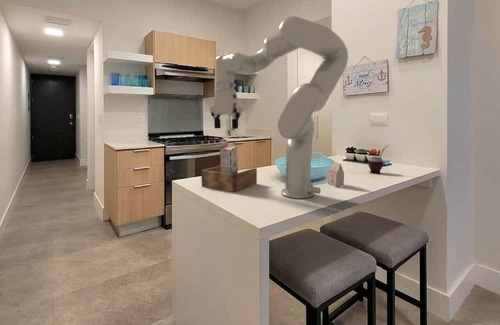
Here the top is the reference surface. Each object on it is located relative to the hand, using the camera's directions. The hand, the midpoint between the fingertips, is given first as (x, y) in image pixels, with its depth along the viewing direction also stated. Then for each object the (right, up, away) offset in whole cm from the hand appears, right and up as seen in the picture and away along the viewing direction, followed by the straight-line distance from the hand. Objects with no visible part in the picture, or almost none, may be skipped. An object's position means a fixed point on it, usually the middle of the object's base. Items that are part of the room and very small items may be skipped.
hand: (226, 128), depth 131 cm
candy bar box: (+1, -25, +3) cm, 25 cm away
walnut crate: (+1, -24, +3) cm, 25 cm away
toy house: (+47, -25, +4) cm, 54 cm away
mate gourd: (+76, -20, +30) cm, 84 cm away
